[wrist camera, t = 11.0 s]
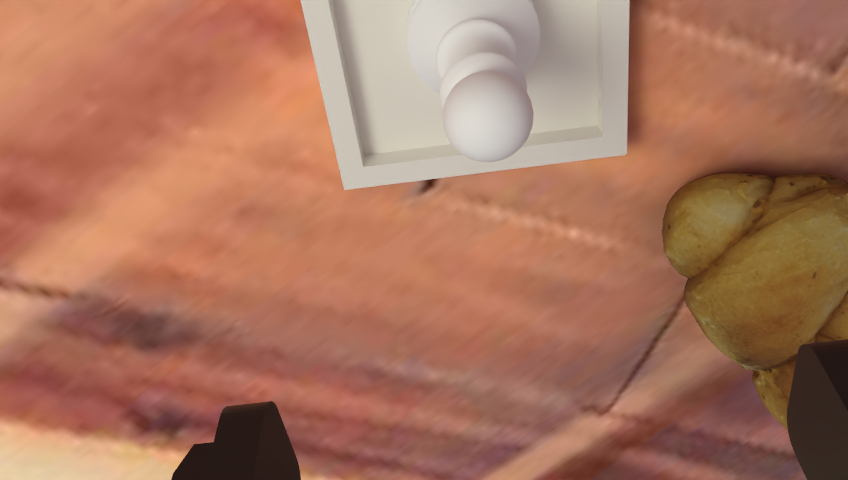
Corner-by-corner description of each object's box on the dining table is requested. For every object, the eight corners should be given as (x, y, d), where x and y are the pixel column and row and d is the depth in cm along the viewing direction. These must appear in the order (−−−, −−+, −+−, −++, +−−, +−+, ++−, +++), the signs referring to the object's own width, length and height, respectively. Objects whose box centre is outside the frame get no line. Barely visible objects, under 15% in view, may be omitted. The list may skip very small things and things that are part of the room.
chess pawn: (485, -69, 29) (514, 22, 22) (560, 35, 32) (607, 149, 24) (379, 15, 31) (372, 126, 24) (457, 108, 33) (472, 234, 26)
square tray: (621, -167, 28) (632, -158, 27) (618, 136, 35) (626, 154, 34) (282, -116, 29) (276, -105, 27) (346, 170, 36) (344, 189, 34)
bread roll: (605, 220, 38) (647, 338, 31) (787, 79, 34) (877, 182, 27) (758, 353, 43) (820, 477, 37) (930, 245, 39) (1034, 364, 33)
